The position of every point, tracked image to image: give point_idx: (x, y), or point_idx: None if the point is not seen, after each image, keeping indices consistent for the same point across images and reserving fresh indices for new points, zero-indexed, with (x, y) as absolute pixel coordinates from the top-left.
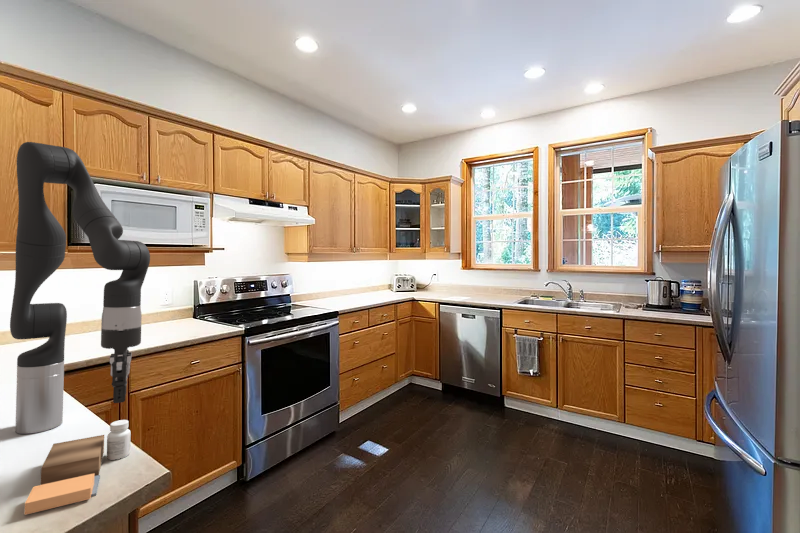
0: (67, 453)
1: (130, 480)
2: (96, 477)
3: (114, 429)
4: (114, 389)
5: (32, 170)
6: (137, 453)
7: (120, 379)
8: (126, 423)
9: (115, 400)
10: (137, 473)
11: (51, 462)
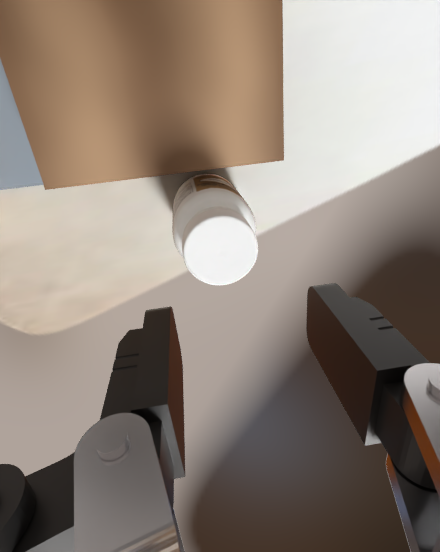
0: (118, 38)
1: (12, 271)
2: (37, 176)
3: (184, 232)
4: (132, 395)
5: None
6: None
7: (386, 420)
8: (201, 280)
9: (124, 336)
10: (54, 281)
11: None
